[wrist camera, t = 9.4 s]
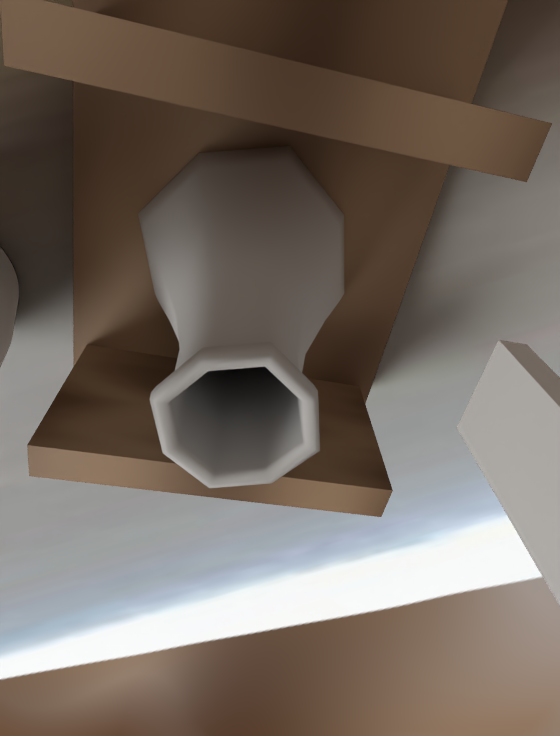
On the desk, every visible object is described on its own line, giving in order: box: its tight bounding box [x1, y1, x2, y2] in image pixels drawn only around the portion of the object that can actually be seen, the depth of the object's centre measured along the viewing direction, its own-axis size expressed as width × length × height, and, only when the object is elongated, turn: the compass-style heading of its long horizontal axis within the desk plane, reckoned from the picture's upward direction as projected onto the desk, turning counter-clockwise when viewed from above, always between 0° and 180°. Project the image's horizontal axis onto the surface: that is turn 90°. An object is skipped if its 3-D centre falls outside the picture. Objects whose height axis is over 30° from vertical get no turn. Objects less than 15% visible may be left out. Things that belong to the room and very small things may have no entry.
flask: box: [138, 146, 344, 488], centre depth 14 cm, size 7×7×10 cm
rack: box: [0, 0, 552, 517], centre depth 13 cm, size 12×23×8 cm, turn 168°
